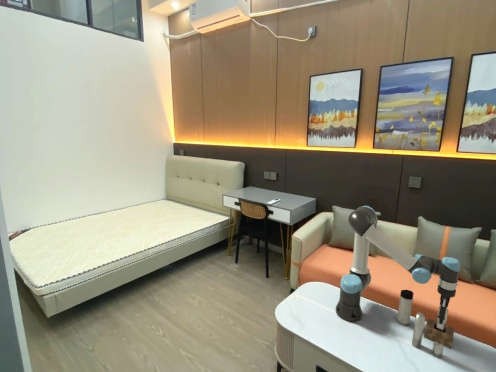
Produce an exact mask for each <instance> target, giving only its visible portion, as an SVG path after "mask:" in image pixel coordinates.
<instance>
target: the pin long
mask: <svg viewBox="0 0 496 372" xmlns="http://www.w3.org/2000/svg"><path fill="white" fill-rule="evenodd" d="M414 319H415V320H414V327H413V334H412V339H411V346H412V347H414V348H416V349H421V348H422V341H423V337H424V331H425V323H426V315H425V314H424V313H422V312H416V313H415V318H414Z"/></svg>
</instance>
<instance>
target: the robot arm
mask: <svg viewBox="0 0 496 372" xmlns="http://www.w3.org/2000/svg"><path fill="white" fill-rule="evenodd" d="M377 215H378V214H377V212H376V210H374V208H373V207H370V206H369V205H362V206H359V207H357V209H355V210H353V211H352V212H350V214H349V215H348V218H347V222H348V225H349V227H350V228H351V229H352V231H354V243H353V253H352V254H353V256H352V264H351V265H350V266H349V274H345V275H343V276H342V277H341V280H340V288H339V289H340V290H339V298H338V299H339V300H338V302H337V304H336V305H335V313H336V315H337V316H338V317H339V318H340V319H342V320H344V321H346V322H351V323H354V322H355V323H356V322H359V321H360V320H362V316H363V311H362V307H361V295H362V294H363V292H364V291H365V290H366V289H367V287H368V286H369V285H370V284H371V281H372V275H371V273H370V268H369V267H368V264H369V263H368V262H369V252H370V243H372V245H374V246H375V247H376V248H378V249H379V250H380V251H382V252H383V253H384V254H385V255H387V256H388V257H390V259H392V260H393V261H394V262H395V263H397V265H398V264H399V265H400V266H401V267H402V268H403V269H405V270H406V271H407V272H408V273H410V274H411V277H412V279H413V281H414V282H416V283H418V284H421V285H423V284H427V283H429V281H430V280H431V278H432V276H433V274H437V275H439V277H438V283H437V284H438V285H437V289H436V291H437V293H438V294H439V295H440V297H439V300H440V302H439V305H440V312H439V316H438V314H437V315H436V317H438V323H437V328H439V329H442V330H443V327H444V321H445V313H446V308H447V309H448V308H449V303H450V300H451V299H452V298H454V297H456V295H457V294H456V293H457V286H459V283H458V281H459V275H460V272H461V270H460V269H461V261H459V259H456V258H455V257H451V256H449V257H448V256H444V257H442V259H438V258H435V257H431V256H428V255H424V254H419V253H416V254H414V256H413V255H412V254H410V253H409V252H408V251H406V250H405V249H404V248H402V247H401V246H399V244H397V243H396V242H395V241H393V240H392V239H390V237H387V236H386V235H385V234H384V233H383V232H381V231H379V230H378V229H377V228H375V225H374V224H375V222H376V220H377V218H378V217H377Z"/></svg>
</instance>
